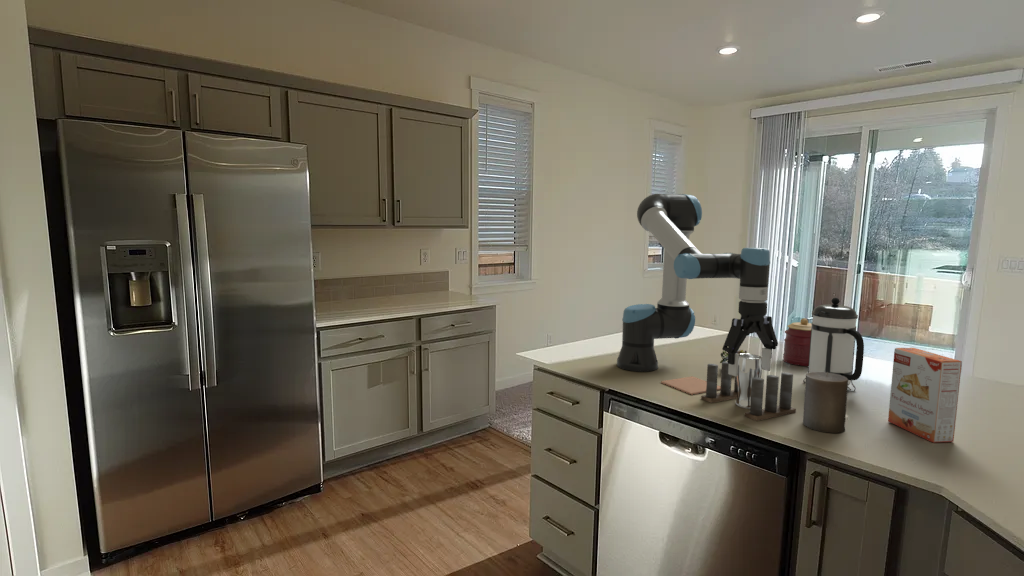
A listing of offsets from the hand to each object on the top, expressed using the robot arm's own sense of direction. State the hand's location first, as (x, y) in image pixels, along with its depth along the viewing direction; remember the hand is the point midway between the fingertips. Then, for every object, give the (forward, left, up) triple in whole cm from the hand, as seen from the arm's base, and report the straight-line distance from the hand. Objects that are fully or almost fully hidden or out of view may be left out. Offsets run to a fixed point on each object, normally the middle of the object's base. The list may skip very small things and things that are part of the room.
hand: (749, 372), depth 151 cm
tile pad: (-21, -1, -10) cm, 24 cm away
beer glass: (0, 0, -10) cm, 10 cm away
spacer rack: (0, 0, -10) cm, 10 cm away
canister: (-26, +61, -10) cm, 67 cm away
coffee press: (0, +40, -10) cm, 41 cm away
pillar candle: (+20, +5, -10) cm, 23 cm away
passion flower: (-28, +26, -10) cm, 40 cm away
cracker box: (+33, +24, -10) cm, 42 cm away
